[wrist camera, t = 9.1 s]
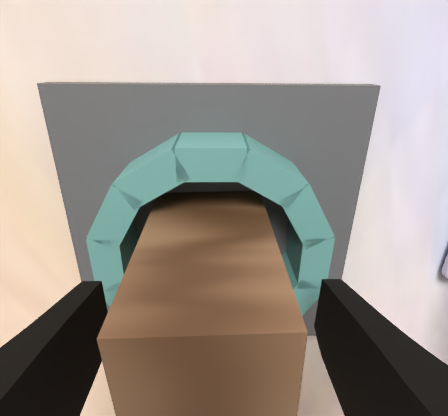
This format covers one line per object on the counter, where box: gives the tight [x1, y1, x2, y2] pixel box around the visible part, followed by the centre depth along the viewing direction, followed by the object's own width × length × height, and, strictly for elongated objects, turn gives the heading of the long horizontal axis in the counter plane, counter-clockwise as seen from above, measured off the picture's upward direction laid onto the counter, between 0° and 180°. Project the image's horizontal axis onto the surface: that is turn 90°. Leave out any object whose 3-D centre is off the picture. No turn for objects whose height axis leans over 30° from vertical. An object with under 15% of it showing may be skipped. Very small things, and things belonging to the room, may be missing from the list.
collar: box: [37, 82, 380, 335], centre depth 14 cm, size 13×13×3 cm
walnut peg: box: [97, 191, 308, 416], centre depth 11 cm, size 4×4×8 cm
